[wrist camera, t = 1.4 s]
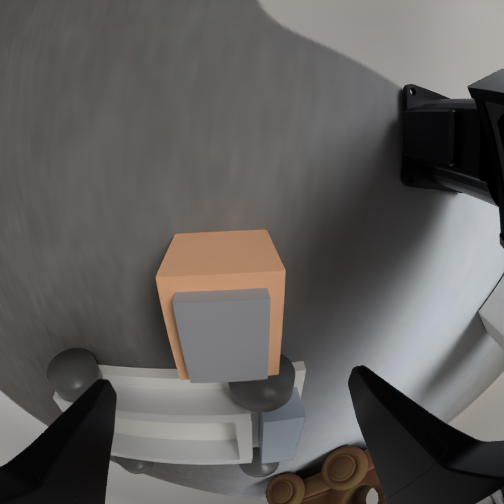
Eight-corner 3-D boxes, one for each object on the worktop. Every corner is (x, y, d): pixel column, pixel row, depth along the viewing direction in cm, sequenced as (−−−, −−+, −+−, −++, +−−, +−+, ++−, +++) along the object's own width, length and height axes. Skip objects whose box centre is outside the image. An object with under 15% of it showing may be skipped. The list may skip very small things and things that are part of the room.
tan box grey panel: (266, 229, 15) (290, 280, 10) (265, 317, 17) (281, 386, 12) (175, 233, 14) (151, 287, 9) (188, 321, 17) (178, 391, 12)
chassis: (305, 344, 19) (322, 390, 15) (287, 441, 25) (294, 472, 21) (48, 344, 17) (28, 380, 13) (113, 439, 23) (107, 468, 19)
